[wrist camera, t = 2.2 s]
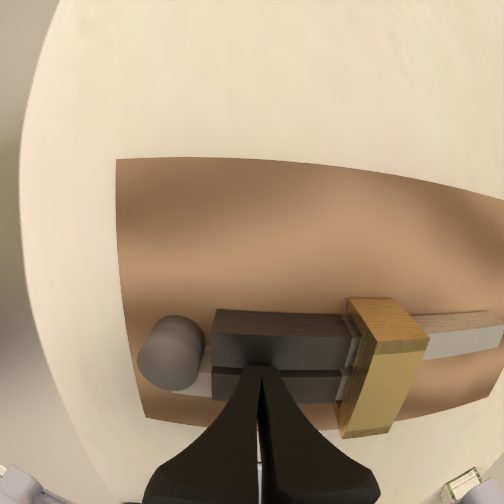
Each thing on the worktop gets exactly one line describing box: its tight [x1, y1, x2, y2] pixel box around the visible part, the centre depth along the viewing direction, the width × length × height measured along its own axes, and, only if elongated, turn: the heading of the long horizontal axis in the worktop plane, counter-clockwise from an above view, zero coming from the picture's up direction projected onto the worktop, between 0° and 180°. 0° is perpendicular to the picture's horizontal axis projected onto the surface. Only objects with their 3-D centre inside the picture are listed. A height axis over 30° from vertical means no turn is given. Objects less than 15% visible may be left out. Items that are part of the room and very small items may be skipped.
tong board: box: [116, 157, 504, 431], centre depth 13 cm, size 16×28×4 cm, turn 87°
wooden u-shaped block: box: [332, 298, 430, 439], centre depth 12 cm, size 6×2×4 cm, turn 177°
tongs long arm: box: [210, 309, 504, 370], centre depth 13 cm, size 2×17×2 cm, turn 87°
